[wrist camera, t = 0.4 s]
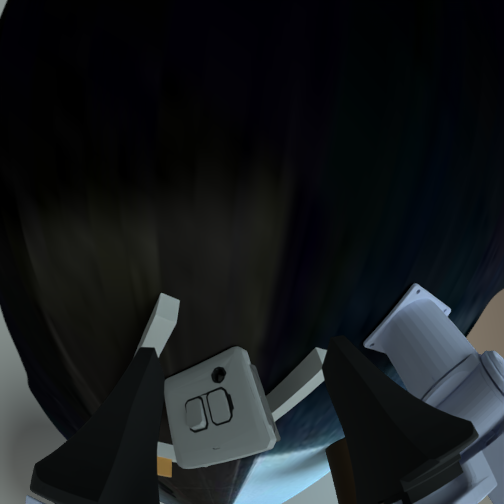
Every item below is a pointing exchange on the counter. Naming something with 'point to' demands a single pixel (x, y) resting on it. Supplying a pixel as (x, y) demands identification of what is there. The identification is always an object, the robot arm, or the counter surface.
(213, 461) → the electrical switch
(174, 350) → the counter surface
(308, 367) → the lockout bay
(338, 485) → the olive oil
